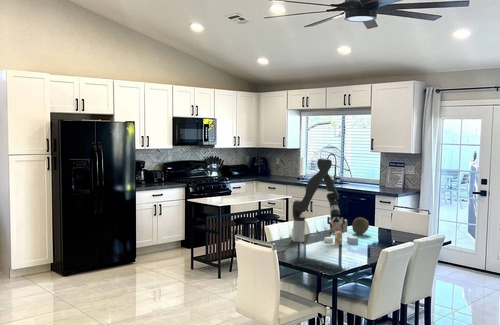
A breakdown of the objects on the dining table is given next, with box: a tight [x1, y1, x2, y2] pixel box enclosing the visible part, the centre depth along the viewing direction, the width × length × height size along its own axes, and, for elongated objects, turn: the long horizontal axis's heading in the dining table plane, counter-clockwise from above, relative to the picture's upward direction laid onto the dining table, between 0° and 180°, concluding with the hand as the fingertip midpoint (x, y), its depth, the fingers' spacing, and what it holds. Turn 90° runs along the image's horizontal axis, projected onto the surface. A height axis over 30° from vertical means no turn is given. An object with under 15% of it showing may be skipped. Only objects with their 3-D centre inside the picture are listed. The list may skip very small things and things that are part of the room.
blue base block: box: [346, 235, 359, 245], centre depth 386 cm, size 7×7×5 cm
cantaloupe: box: [351, 216, 370, 235], centre depth 422 cm, size 14×14×15 cm
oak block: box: [334, 231, 343, 246], centre depth 381 cm, size 4×4×10 cm
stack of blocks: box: [329, 219, 348, 234], centre depth 435 cm, size 21×6×12 cm, turn 141°
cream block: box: [323, 236, 334, 243], centre depth 389 cm, size 5×5×4 cm
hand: (336, 228), depth 388 cm, fingers open, 8 cm apart
